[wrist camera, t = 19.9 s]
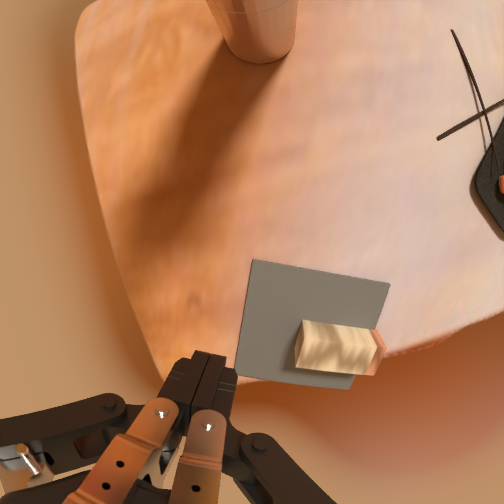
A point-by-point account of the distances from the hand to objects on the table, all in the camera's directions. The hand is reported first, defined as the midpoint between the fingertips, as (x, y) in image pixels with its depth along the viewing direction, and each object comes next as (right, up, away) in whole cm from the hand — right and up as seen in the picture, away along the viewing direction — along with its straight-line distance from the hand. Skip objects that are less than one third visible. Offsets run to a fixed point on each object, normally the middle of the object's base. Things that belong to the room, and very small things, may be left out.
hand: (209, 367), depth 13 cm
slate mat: (+11, -7, +29) cm, 32 cm away
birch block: (+9, -7, +26) cm, 29 cm away
